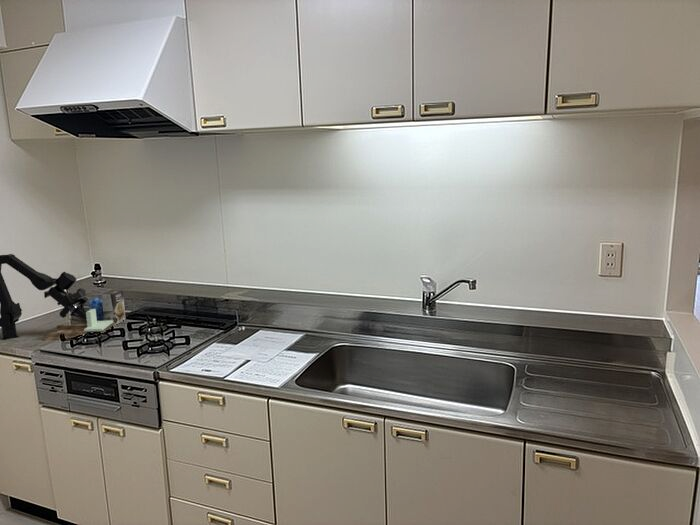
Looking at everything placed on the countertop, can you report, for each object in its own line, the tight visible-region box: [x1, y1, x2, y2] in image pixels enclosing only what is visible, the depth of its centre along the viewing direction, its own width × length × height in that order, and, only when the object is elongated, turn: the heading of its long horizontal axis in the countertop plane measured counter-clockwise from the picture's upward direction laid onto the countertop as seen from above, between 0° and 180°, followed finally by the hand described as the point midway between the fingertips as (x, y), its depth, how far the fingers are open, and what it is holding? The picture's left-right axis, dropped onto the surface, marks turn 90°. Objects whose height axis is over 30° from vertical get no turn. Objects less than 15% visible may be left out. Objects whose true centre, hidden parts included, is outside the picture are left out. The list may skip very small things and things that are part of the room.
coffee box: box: [101, 289, 126, 326], centre depth 258 cm, size 9×6×16 cm
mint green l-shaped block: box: [84, 309, 113, 332], centre depth 241 cm, size 8×14×8 cm, turn 5°
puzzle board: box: [43, 323, 116, 341], centre depth 241 cm, size 26×16×3 cm, turn 95°
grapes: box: [88, 296, 104, 321], centre depth 263 cm, size 12×7×12 cm, turn 80°
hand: (88, 318), depth 241 cm, fingers closed
